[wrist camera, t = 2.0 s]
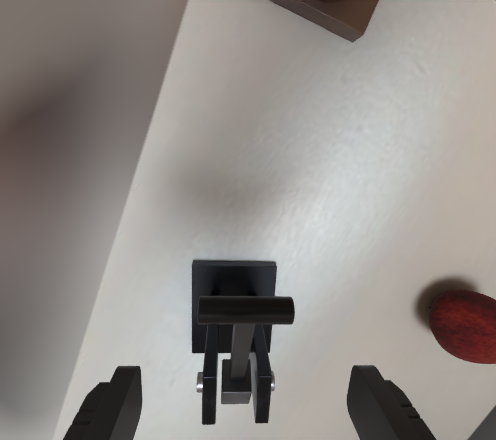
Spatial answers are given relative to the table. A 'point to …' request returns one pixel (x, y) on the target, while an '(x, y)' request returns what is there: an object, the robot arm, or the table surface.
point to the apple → (465, 325)
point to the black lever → (242, 334)
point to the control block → (335, 14)
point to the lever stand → (220, 335)
